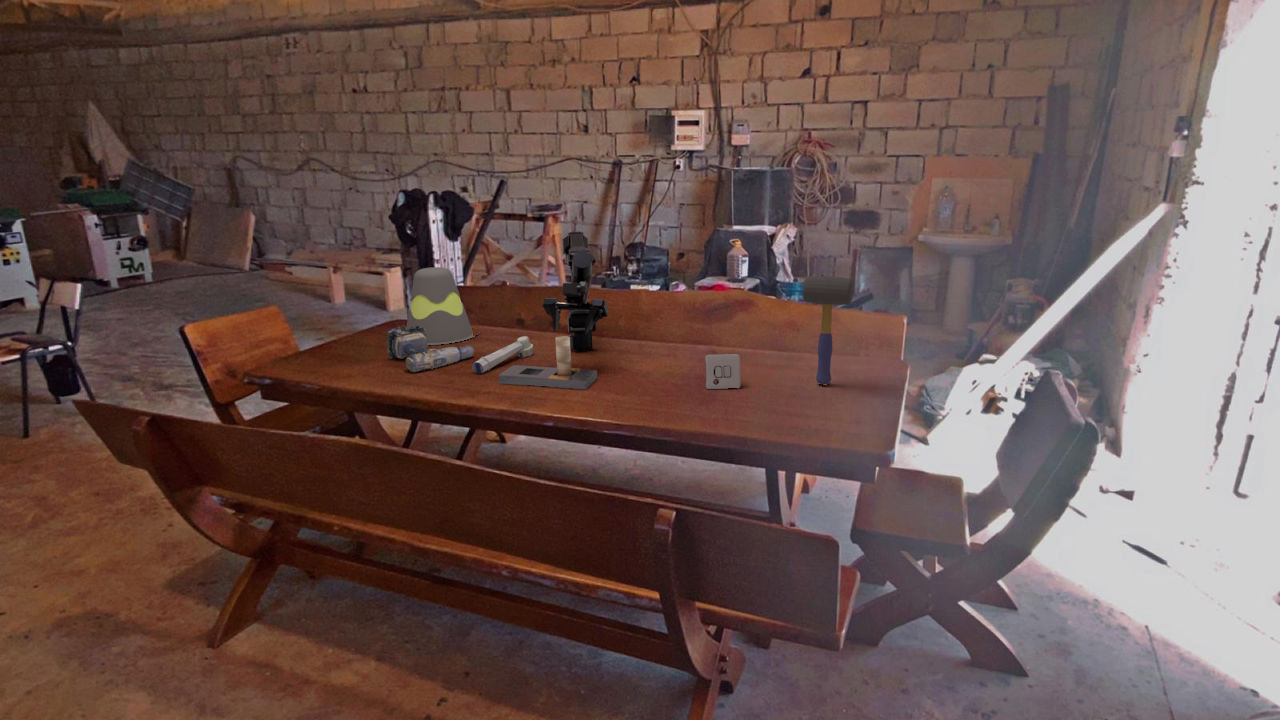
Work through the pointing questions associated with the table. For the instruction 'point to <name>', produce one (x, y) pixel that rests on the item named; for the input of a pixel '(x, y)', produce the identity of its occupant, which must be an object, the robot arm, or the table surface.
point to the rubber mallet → (826, 313)
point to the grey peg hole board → (547, 377)
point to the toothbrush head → (504, 355)
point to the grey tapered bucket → (438, 307)
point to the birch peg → (563, 356)
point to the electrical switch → (722, 371)
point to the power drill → (421, 349)
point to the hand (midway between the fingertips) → (570, 332)
